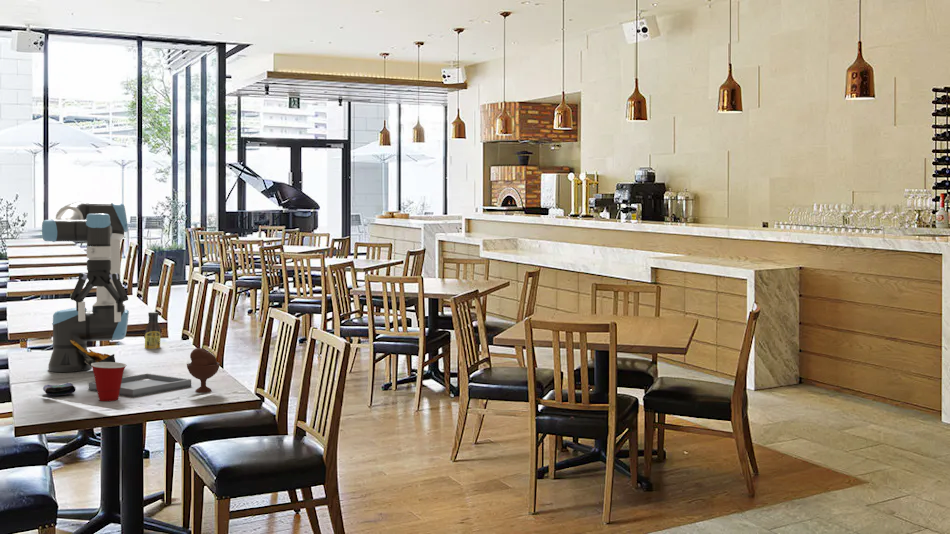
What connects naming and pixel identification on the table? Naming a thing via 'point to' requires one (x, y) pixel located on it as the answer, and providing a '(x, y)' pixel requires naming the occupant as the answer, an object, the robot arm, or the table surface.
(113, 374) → the plastic cup
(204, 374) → the ice cream bowl
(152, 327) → the sauce bottle
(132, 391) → the tray
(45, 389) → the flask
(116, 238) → the robot arm
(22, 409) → the table surface
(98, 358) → the fried shrimp in bowl
